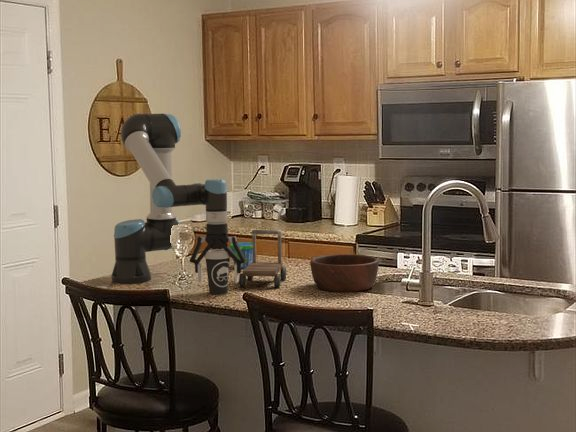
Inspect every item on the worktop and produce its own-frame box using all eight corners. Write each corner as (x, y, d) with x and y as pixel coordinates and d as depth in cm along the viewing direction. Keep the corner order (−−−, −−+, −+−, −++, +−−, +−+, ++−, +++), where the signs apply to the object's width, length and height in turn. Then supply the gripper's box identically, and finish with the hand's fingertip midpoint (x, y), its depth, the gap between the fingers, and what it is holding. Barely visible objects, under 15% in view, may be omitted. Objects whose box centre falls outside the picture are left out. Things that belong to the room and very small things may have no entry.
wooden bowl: (343, 277, 300) (343, 251, 299) (392, 286, 282) (392, 259, 281) (296, 287, 284) (296, 259, 282) (345, 297, 265) (345, 268, 264)
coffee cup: (234, 290, 280) (233, 249, 278) (229, 295, 271) (228, 253, 269) (208, 289, 281) (207, 249, 279) (202, 295, 271) (201, 253, 270)
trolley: (278, 288, 281) (277, 236, 279) (239, 288, 283) (238, 236, 281) (286, 278, 300) (285, 229, 297) (249, 278, 302) (248, 229, 300)
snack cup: (247, 271, 317) (246, 247, 316) (224, 270, 321) (223, 246, 320) (261, 265, 332) (261, 241, 330) (239, 264, 335) (238, 240, 334)
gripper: (179, 224, 271) (181, 283, 273) (248, 224, 267) (250, 284, 270) (185, 221, 279) (187, 279, 281) (253, 221, 275) (254, 280, 277)
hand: (218, 282), depth 275 cm, fingers open, 13 cm apart
